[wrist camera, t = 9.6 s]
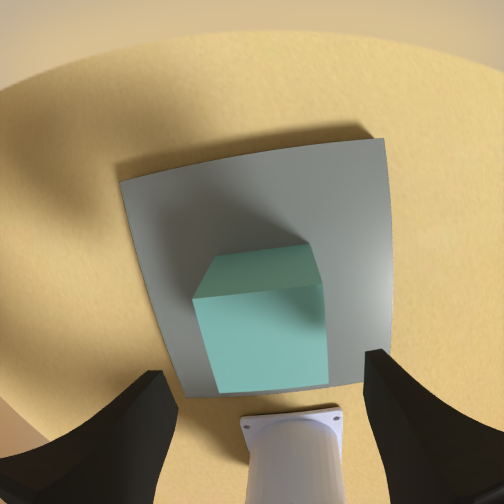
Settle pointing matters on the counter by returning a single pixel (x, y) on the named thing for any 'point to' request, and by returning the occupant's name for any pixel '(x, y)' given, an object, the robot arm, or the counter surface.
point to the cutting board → (270, 244)
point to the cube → (264, 320)
